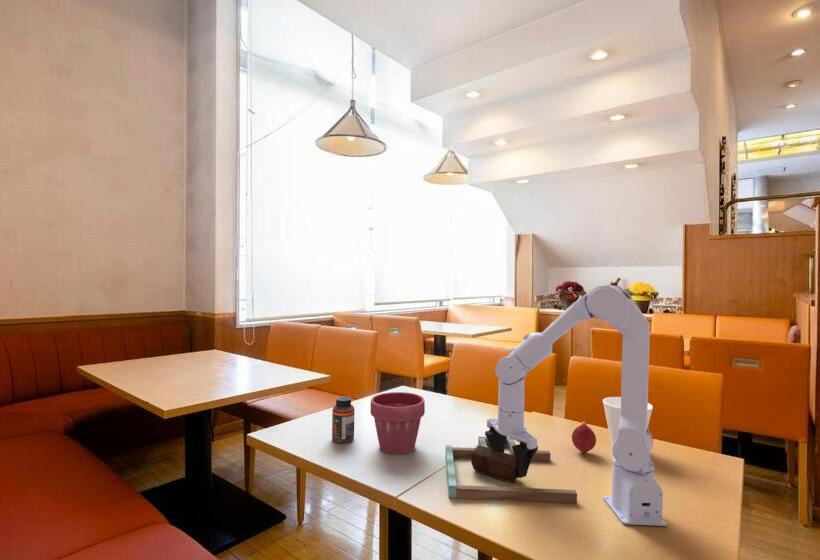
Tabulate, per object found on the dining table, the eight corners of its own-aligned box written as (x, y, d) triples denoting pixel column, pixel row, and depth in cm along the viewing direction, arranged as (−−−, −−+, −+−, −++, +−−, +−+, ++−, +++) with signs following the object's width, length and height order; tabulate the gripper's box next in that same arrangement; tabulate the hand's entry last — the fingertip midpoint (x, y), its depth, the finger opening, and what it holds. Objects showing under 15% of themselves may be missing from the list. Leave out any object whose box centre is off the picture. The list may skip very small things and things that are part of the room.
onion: (598, 458, 108) (598, 427, 108) (573, 456, 109) (574, 425, 109) (593, 449, 114) (593, 419, 114) (569, 447, 115) (570, 417, 115)
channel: (576, 503, 87) (577, 491, 87) (448, 498, 88) (448, 485, 88) (540, 446, 116) (540, 436, 116) (444, 442, 117) (444, 433, 117)
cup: (624, 461, 107) (625, 411, 107) (591, 443, 118) (592, 398, 118) (663, 457, 110) (664, 408, 110) (627, 439, 121) (629, 395, 121)
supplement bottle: (327, 438, 118) (328, 397, 118) (346, 433, 122) (347, 393, 122) (338, 445, 114) (339, 402, 114) (358, 440, 117) (358, 398, 117)
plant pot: (366, 439, 118) (366, 392, 118) (415, 435, 122) (416, 390, 122) (374, 461, 104) (375, 408, 104) (430, 456, 108) (431, 405, 108)
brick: (471, 471, 100) (470, 452, 99) (479, 461, 103) (478, 444, 102) (515, 485, 94) (513, 465, 93) (522, 475, 97) (521, 456, 96)
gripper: (548, 416, 93) (546, 479, 93) (503, 398, 106) (502, 453, 106) (523, 420, 90) (521, 486, 90) (480, 401, 103) (479, 459, 103)
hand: (509, 469), depth 98 cm, fingers open, 7 cm apart
